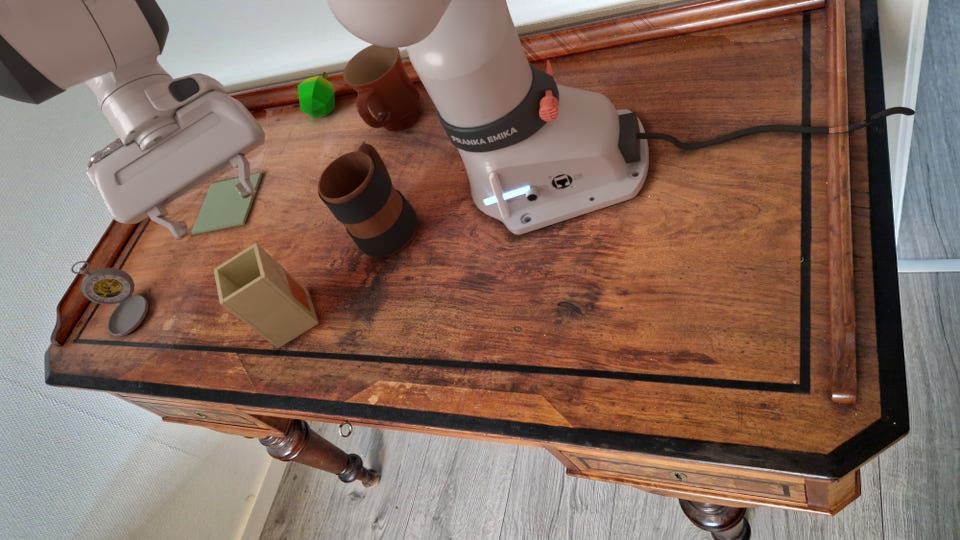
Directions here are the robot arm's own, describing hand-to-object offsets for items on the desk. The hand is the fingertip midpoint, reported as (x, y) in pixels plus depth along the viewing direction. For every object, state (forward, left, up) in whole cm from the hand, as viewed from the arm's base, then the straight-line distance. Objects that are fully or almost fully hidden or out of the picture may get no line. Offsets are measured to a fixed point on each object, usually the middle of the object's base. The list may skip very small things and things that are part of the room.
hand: (217, 216), depth 79 cm
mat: (+15, -15, -13) cm, 25 cm away
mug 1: (-14, -24, -13) cm, 31 cm away
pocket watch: (+26, +3, -13) cm, 29 cm away
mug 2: (-16, -5, -13) cm, 22 cm away
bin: (-4, +8, -13) cm, 16 cm away
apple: (+1, -33, -13) cm, 36 cm away
